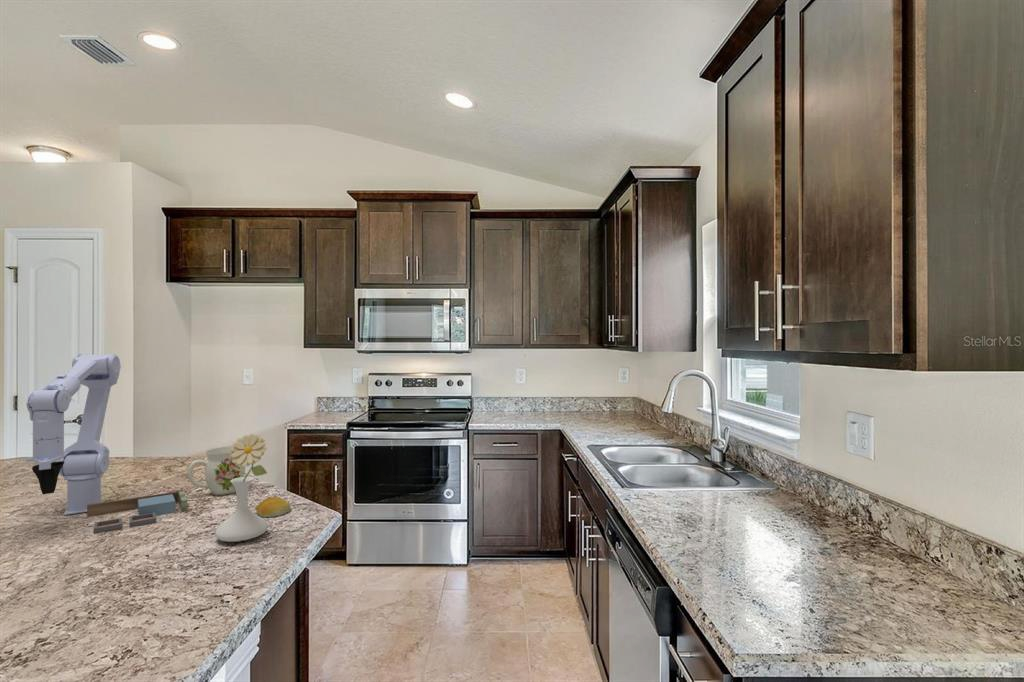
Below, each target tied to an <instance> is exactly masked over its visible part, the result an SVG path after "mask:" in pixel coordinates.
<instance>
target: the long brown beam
mask: <svg viewBox="0 0 1024 682" xmlns="http://www.w3.org/2000/svg"><path fill="white" fill-rule="evenodd" d="M170 494H173V497H174V499H175V504H176V503H178V505H179V509H180V511H181V513H182V512H187V511H188V508H187V507H188V503H187V502H188V500H187V497H186V494H185V492H184V490H178V491H177V490H176V491H169V492H164V493H163V492H162V493H157V494H151V495H144V496H137V497H130V498H124V499H118V500H110V501H105V502H104V501H103V502H102V503H96V504H89V505H87V512H86V516H87V518H89V517H94V516H95V517H96V516H101V515H106V514H107V515H108V514H112V513H113V514H115V513H119V512H120V513H121V512H126V511H132V510H138V499H144V498H150V497H157V496H163V495H170Z"/></svg>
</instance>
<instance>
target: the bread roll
mask: <svg viewBox="0 0 1024 682" xmlns="http://www.w3.org/2000/svg"><path fill="white" fill-rule="evenodd" d="M255 511H256V513H257V515H258V516H259V517H261V518H276V517H275V516H277V517H281V516H283V514H284V515H286V514H288V513H289V512H290V511H291V504H290V503H289V502H288V501H286V500H285V499H283V498H281V497H278V496H277V497H276V496H271V497H266V498H264V499H263V500H262V501H260V502H259V503H258V505H256V508H255ZM287 512H288V513H287ZM280 515H281V516H280Z"/></svg>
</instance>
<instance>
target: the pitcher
mask: <svg viewBox="0 0 1024 682" xmlns="http://www.w3.org/2000/svg"><path fill="white" fill-rule="evenodd" d="M232 447H233V445H228V446H222V447H215V448H210V449H208V450H206V451H205V454H206V457H207V460H204V459H196V460H193V461H192V462H191V464H190V465H189V466H188V469H187V478H188V481H189V483H190V484H191V485H193V486H195V487H196V488H202V489H209V490H210V492H211V493H212V495H216V496H225V494H226V495H230V493H231V494H234V493H236V490H235V487H234V485H233V484H232V483H231V482H230V481H231V480H232V479H235V478H240V477H245V474H244V473H242V472H240V471H237V470H235V469H234V468H233V467H232V466H234V467H235V468H237V469H240V470H243V471H244V472H245V473H246V466H245V467H242V466H241V464H240V465H236V463H235V464H234V463H233V462H232V459H233V458H231V455H232V454H230V451H231V448H232ZM198 465H204V466H205V467H204V477H205V482H204V483H202V482H199V481H197V480H195V478H194V477H193V471H194V468H195V467H196V466H198ZM233 492H234V493H233Z"/></svg>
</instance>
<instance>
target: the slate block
mask: <svg viewBox="0 0 1024 682" xmlns="http://www.w3.org/2000/svg"><path fill="white" fill-rule="evenodd" d="M154 512H155V515H156V517H158V516H162V515H168V514H174V513H176V503H175V499H174V497H173V494H170V495H163V496H157V497H150V498H144V499H138V509H137V513H138V514H137V515H142V514H148V513H154Z"/></svg>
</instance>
